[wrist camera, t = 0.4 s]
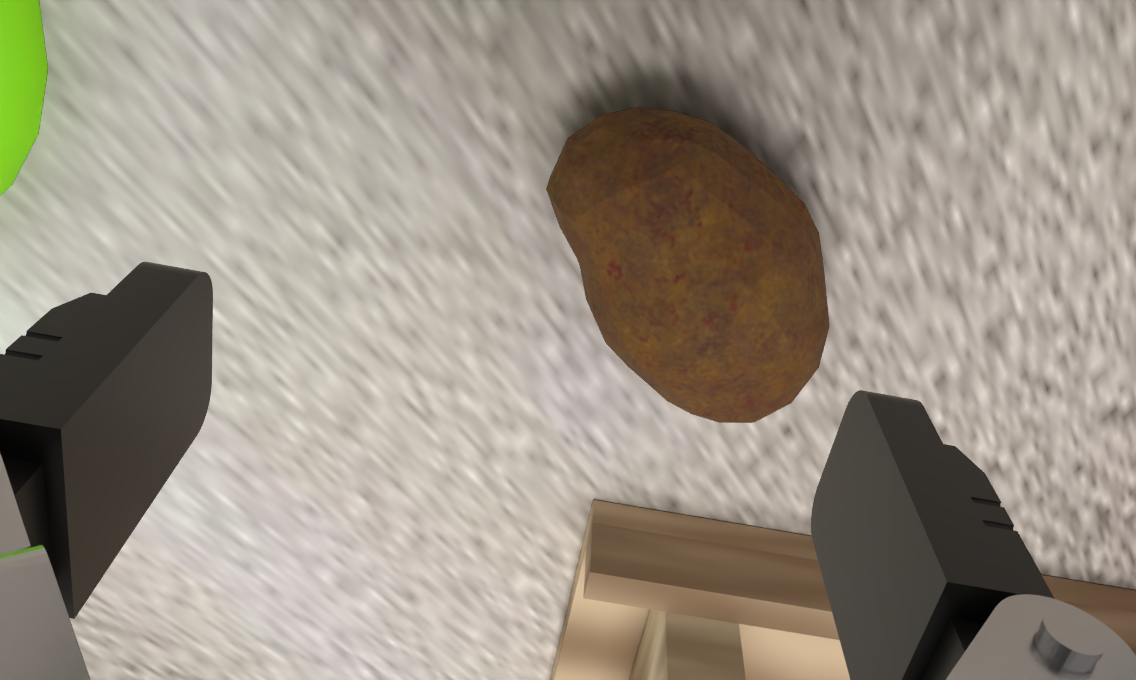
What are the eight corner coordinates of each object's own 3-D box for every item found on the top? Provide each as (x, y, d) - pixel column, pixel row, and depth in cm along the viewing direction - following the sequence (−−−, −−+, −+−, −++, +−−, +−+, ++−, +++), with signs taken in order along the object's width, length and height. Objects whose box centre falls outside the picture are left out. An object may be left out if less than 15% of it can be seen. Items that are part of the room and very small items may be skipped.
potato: (694, 22, 27) (711, 93, 22) (872, 285, 31) (923, 401, 25) (504, 160, 29) (477, 254, 24) (691, 388, 33) (703, 515, 28)
